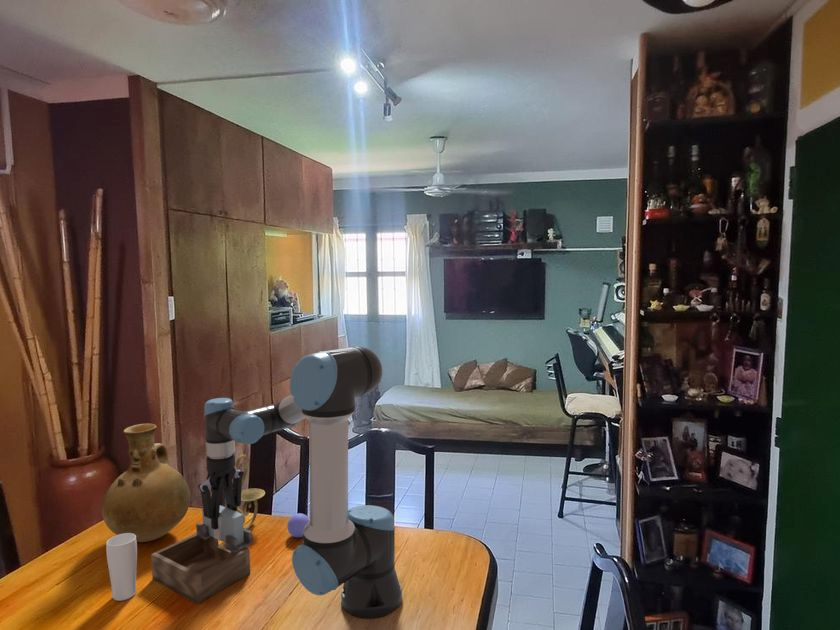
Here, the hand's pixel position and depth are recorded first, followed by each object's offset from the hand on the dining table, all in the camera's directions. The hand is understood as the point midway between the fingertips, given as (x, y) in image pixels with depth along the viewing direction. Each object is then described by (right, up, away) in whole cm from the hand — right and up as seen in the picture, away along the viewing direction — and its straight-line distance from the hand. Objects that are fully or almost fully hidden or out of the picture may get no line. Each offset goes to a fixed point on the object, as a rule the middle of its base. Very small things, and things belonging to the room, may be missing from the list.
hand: (223, 535), depth 152 cm
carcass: (-3, -9, -4) cm, 10 cm away
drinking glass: (-20, -10, -14) cm, 26 cm away
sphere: (+17, -7, +16) cm, 25 cm away
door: (0, 0, 0) cm, 1 cm away
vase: (-29, -7, +16) cm, 33 cm away
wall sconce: (0, -7, +21) cm, 22 cm away
